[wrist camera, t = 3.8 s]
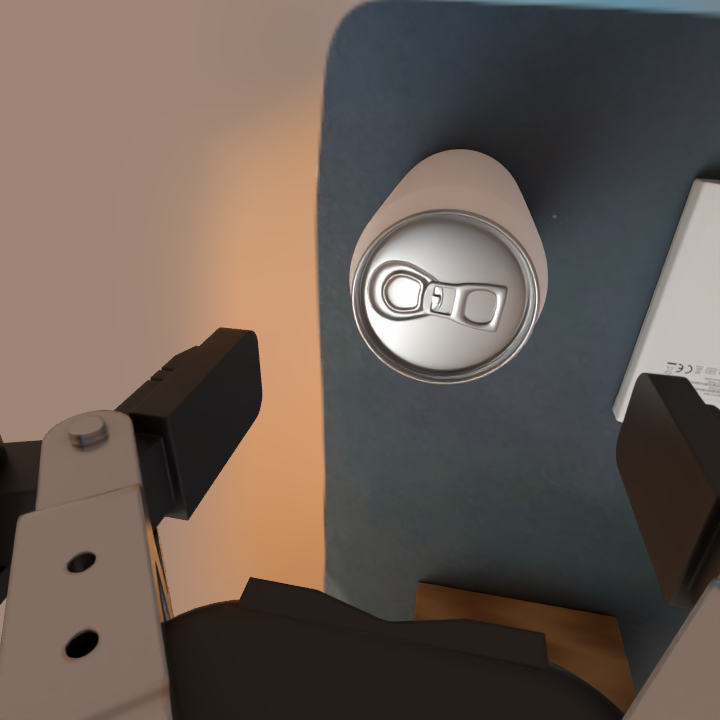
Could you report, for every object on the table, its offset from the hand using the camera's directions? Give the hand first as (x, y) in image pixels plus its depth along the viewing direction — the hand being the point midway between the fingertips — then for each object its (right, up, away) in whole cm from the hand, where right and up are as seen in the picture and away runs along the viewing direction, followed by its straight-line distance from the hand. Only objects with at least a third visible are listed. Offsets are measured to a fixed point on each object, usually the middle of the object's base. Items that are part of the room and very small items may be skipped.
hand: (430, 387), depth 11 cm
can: (+3, +8, +15) cm, 17 cm away
